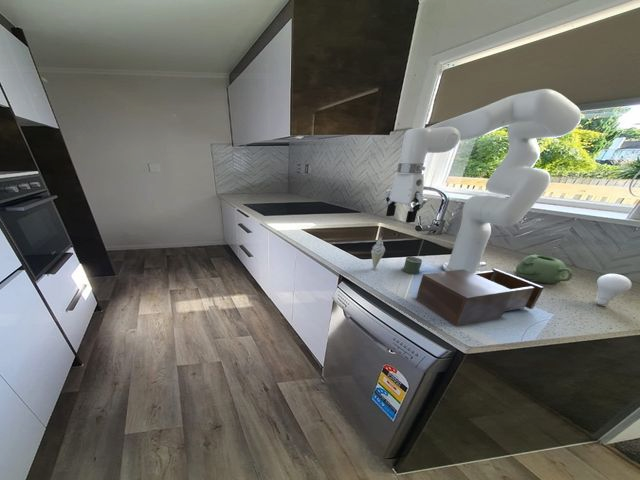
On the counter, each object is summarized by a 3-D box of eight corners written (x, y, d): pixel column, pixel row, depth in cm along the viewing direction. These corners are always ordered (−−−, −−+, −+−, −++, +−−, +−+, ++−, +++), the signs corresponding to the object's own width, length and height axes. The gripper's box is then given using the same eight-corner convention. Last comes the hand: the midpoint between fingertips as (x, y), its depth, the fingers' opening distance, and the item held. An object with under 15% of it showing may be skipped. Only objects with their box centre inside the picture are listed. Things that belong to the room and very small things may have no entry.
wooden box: (455, 293, 86) (463, 269, 83) (501, 318, 73) (513, 290, 69) (415, 299, 83) (422, 274, 79) (456, 326, 70) (467, 297, 66)
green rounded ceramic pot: (504, 270, 102) (513, 251, 99) (535, 270, 102) (545, 251, 99) (546, 290, 88) (557, 268, 84) (582, 290, 87) (595, 268, 84)
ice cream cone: (382, 272, 102) (389, 238, 96) (369, 271, 103) (375, 238, 97) (378, 267, 107) (385, 234, 101) (366, 266, 108) (372, 234, 102)
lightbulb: (579, 300, 82) (596, 270, 77) (595, 299, 82) (613, 270, 78) (604, 310, 76) (625, 280, 72) (621, 309, 76) (643, 279, 72)
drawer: (496, 286, 89) (504, 267, 86) (543, 306, 77) (554, 285, 74) (452, 292, 85) (459, 272, 82) (494, 315, 73) (504, 293, 70)
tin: (411, 267, 106) (414, 256, 104) (422, 273, 101) (425, 261, 99) (400, 268, 105) (402, 257, 103) (410, 274, 100) (413, 262, 98)
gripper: (442, 170, 75) (428, 224, 81) (400, 167, 90) (391, 213, 97) (422, 171, 73) (409, 226, 80) (382, 168, 89) (374, 214, 95)
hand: (399, 218), depth 88 cm, fingers open, 9 cm apart
